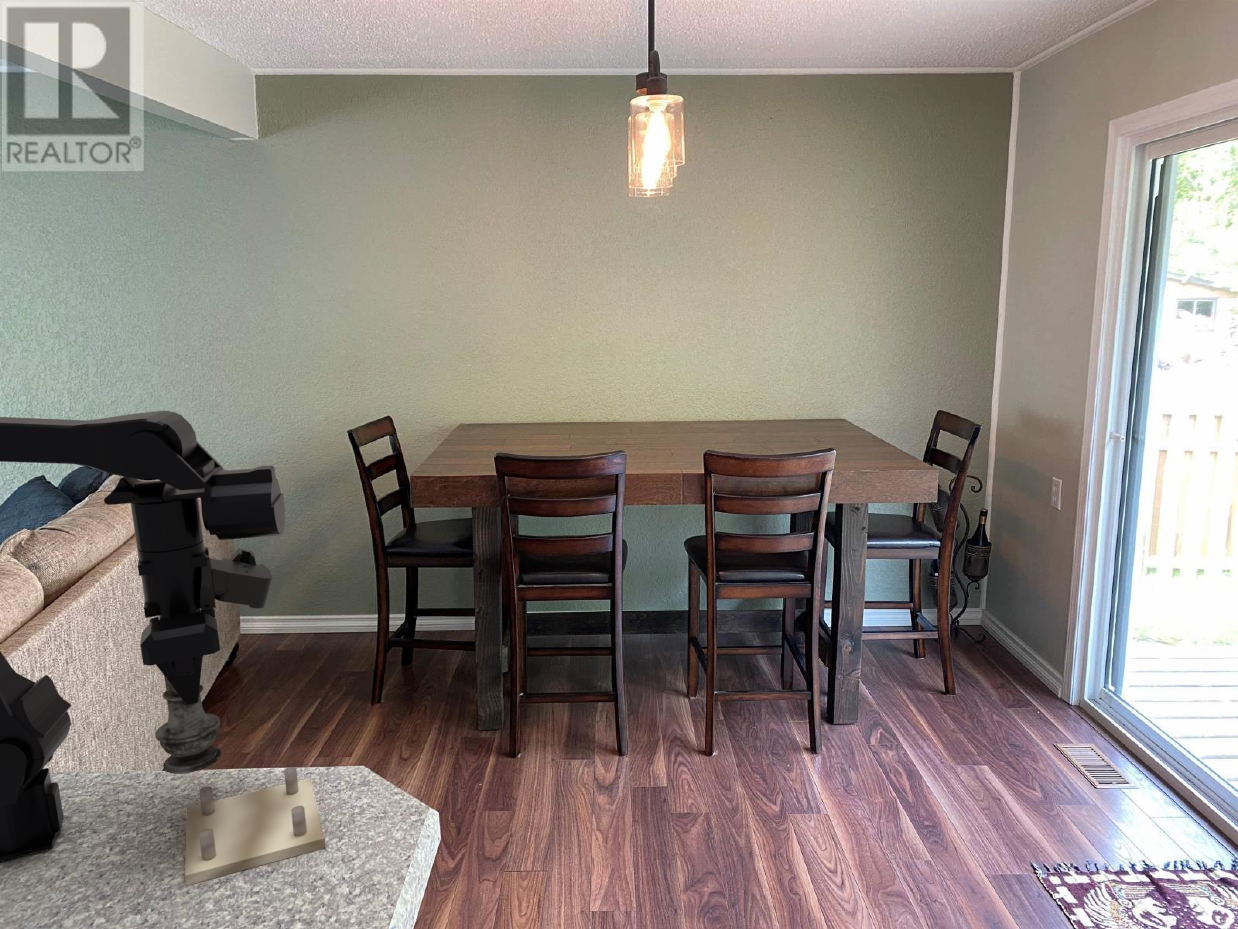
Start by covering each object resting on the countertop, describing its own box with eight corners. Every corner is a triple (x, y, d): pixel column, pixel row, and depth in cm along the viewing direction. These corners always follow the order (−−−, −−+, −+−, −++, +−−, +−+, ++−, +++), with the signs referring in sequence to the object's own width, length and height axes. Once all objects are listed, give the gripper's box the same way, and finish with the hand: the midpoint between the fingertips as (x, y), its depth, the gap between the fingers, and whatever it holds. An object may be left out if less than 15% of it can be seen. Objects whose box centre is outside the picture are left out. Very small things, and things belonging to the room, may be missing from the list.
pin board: (186, 885, 79) (181, 850, 78) (187, 816, 90) (183, 785, 89) (325, 847, 84) (322, 814, 83) (311, 786, 95) (308, 756, 94)
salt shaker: (200, 777, 85) (183, 661, 82) (146, 773, 86) (128, 658, 84) (236, 746, 90) (222, 636, 88) (185, 743, 92) (170, 634, 89)
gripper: (269, 554, 79) (288, 715, 82) (254, 512, 96) (270, 646, 99) (129, 576, 75) (154, 745, 78) (138, 527, 91) (159, 668, 94)
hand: (191, 695), depth 87 cm, fingers closed on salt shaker, 4 cm apart
